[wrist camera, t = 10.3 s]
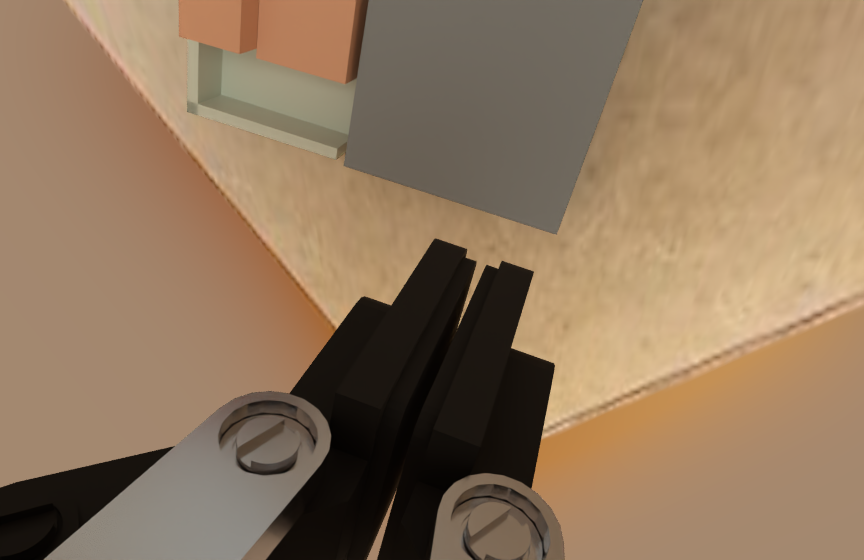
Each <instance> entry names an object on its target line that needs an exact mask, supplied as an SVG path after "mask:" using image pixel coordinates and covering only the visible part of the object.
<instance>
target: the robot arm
mask: <svg viewBox="0 0 864 560" xmlns="http://www.w3.org/2000/svg"><path fill="white" fill-rule="evenodd" d="M466 254H467V249H465V248H462V247H459V246H456V245H453V244H450V243H447V242H444V241H442V240H439V239H434V241H433V242H432V243H431V245H430V247H429V248H428V250H427V251H426V253H425V254H424V256H423V257H422V259H421V261H420V262H419V264H418V265H417V267H416V268H415V270H414V271H413V273H412V274H411V276H410V278H409V279H408V281H407V282H406V284H405V285H404V287H403V288H402V290H401V291H400V293H399V295H398V296H397V298H396V299H395V301H394V302H393V304H392V305H388V304H385V303H382V302H379V301H376V300H374V299H371V298H368V297H365V296H364V297H361V298H360V300H359V301H358V302H357V303H356V304H355V306H354V307H353V308H352V310H351V311H350V312H349V314H348V315H347V316H346V318H345V319H344V321H343V322H342V323H341V325H340V326H339V327H338V329H337V330H336V331H335V333H334V334H333V335H332V337H331V338H330V340H329V341H328V342H327V344H326V345H325V346H324V348H323V349H322V350H321V352H320V353H319V354H318V356H317V357H316V358H315V360H314V361H313V362H312V364H311V365H310V366H309V368H308V369H307V371H306V372H305V373H304V375H303V376H302V377H301V379H300V380H299V381H298V383H297V384H296V385H295V387H294V388H293V389H292V391H291V392H290V393H289V394H288V393H281V392H274V391H273V392H272V391H266V392H255V393H250V394H247V395H244V396H241V397H238V398H235V399H233V400H231V401H230V402H228V403H227V404H225V405H224V406H222V407H221V408H219V409H218V410H217V411H216V412H215V413H213V414H212V415H211V416H210V417H209V418H207V419H206V420H205V421H204V422H203V423H202V424H201V425H200V426H198V427H197V428H196V429H195V430H194V431H192V432H191V433H190V434H189V435H188V436H187V437H185V438H184V439H183V440H182V441H181V442H180V443H179V444H177V445H176V446H174V447H169V448H165V449H160V450H156V451H152V452H147V453H143V454H139V455H134V456H130V457H125V458H121V459H117V460H112V461H108V462H103V463H99V464H95V465H91V466H86V467H82V468H77V469H73V470H69V471H64V472H59V473H56V474H51V475H46V476H42V477H38V478H33V479H29V480H25V481H20V482H16V483H13V484H10V485H7V486H4V487H1V488H0V560H366V559H367V557H368V555H369V552H370V550H371V548H372V546H373V543H374V541H375V538H376V536H377V534H378V531H379V529H380V527H381V525H382V522H383V520H384V517H385V515H386V513H387V510H388V508H389V506H390V504H391V501H392V499H393V496H394V494H395V492H396V495H395V498H394V501H393V505H392V509H391V512H390V516H389V519H388V523H387V527H386V530H385V534H384V537H383V541H382V544H381V548H380V551H379V555H378V559H377V560H565V556H564V541H563V536H562V531H561V527H560V524H559V522H558V520H557V518H556V516H555V514H554V513H553V511H552V509H551V508H550V506H549V505H548V504H547V503H546V502H545V501H544V500H543V499H542V498H541V497H540V496H539V494H538V493H536V492H535V491H533V490H532V489H531V488H532V483H533V478H534V473H535V467H536V462H537V457H538V452H539V447H540V442H541V436H542V431H543V426H544V421H545V416H546V411H547V405H548V400H549V395H550V390H551V385H552V380H553V374H554V368H555V365H554V363H551V362H549V361H546V360H543V359H540V358H537V357H534V356H532V355H529V354H526V353H523V352H520V351H518V350H515V349H512V348H511V346H512V342H513V339H514V336H515V332H516V329H517V326H518V323H519V319H520V316H521V313H522V309H523V306H524V303H525V300H526V296H527V293H528V290H529V286H530V283H531V280H532V277H533V273H534V271H531V270H528V269H525V268H522V267H519V266H516V265H513V264H510V263H507V262H504V261H502V262H501V264H500V267H499V269H497V268H494V267H491V266H488V265H486V267H485V269H484V271H483V273H482V276H481V278H480V280H479V282H478V285H477V287H476V289H475V291H474V294H473V296H472V298H471V300H470V302H469V305H468V307H467V309H466V311H465V314H464V316H463V318H462V320H461V323H460V325H459V327H458V324H459V321H460V317H461V314H462V311H463V307H464V304H465V301H466V297H467V294H468V291H469V287H470V284H471V281H472V277H473V274H474V270H475V267H476V261H473V260H470V259H467V258H466ZM457 327H458V329H457ZM456 331H457V332H456ZM396 490H397V491H396Z"/></svg>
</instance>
